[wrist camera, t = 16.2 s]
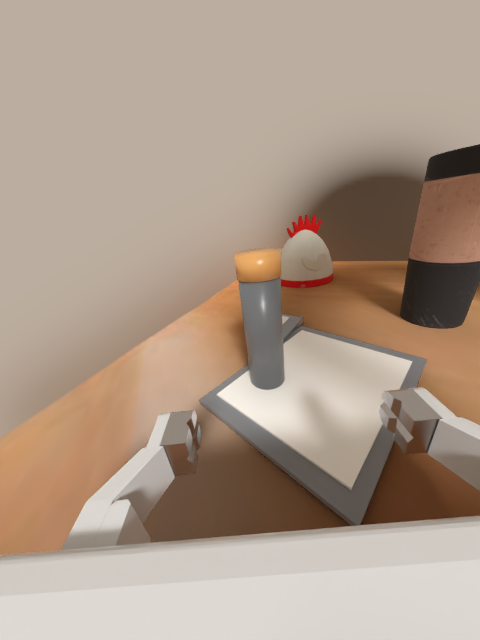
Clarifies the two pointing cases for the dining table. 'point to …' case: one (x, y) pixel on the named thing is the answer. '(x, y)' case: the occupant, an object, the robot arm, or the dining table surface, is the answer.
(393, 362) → the paper pad
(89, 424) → the dining table surface
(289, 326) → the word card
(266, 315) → the marker
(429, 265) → the travel mug
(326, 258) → the kitchen timer
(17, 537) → the dining table surface
